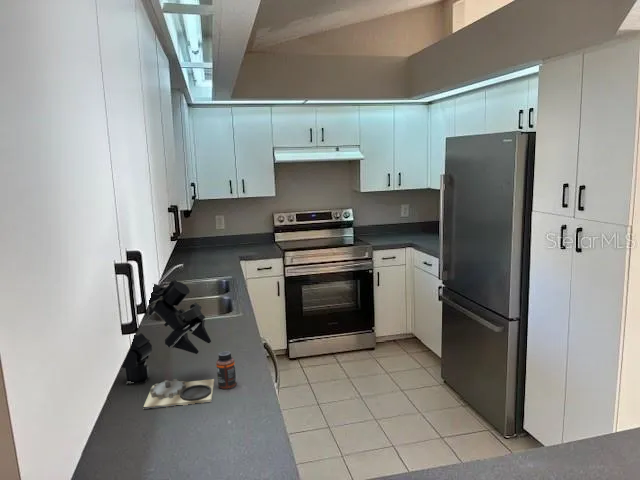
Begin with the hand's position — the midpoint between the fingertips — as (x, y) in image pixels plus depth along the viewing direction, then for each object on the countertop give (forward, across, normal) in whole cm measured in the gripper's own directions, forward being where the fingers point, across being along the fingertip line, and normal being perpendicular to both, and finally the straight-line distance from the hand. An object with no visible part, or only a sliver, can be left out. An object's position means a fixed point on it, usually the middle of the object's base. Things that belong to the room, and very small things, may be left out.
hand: (204, 347), depth 158 cm
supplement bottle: (+14, 0, +4) cm, 15 cm away
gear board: (+5, -8, +13) cm, 16 cm away
